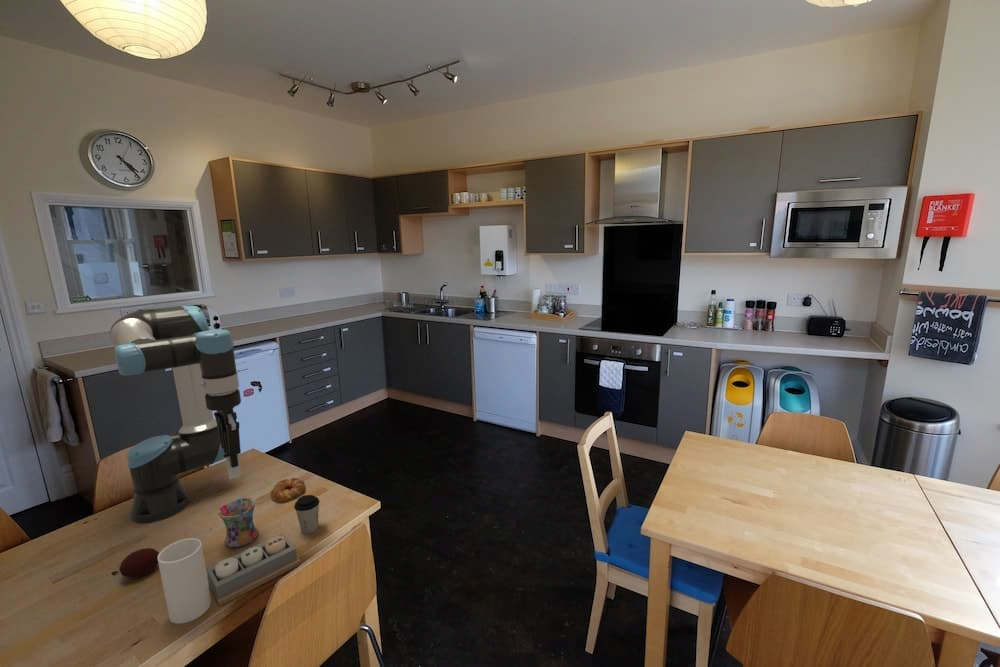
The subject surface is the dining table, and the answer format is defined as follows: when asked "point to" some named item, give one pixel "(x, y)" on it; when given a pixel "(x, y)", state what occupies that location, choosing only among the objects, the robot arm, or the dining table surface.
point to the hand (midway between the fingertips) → (235, 476)
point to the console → (252, 573)
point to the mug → (239, 521)
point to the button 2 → (251, 556)
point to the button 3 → (275, 545)
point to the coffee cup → (307, 513)
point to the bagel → (287, 490)
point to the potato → (139, 562)
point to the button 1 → (226, 568)
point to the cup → (184, 580)
